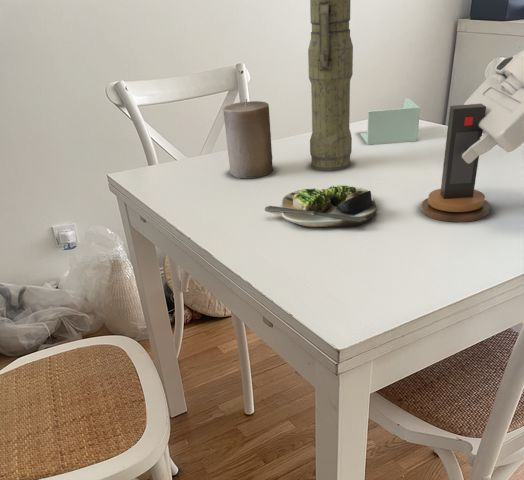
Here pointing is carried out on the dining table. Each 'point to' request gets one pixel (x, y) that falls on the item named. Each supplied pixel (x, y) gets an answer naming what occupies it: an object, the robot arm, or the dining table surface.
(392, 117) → the right angle wall
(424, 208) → the swivel stand
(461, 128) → the slab on wooden base
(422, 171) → the dining table surface
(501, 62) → the robot arm
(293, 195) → the salad plate
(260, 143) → the pillar candle
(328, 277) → the dining table surface
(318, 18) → the thermos
